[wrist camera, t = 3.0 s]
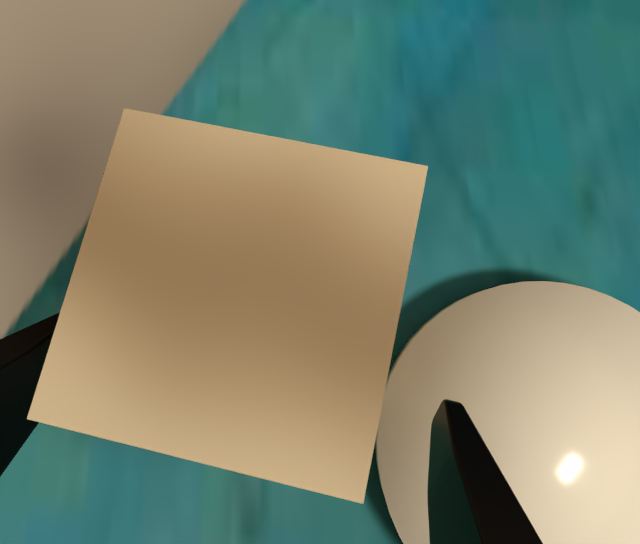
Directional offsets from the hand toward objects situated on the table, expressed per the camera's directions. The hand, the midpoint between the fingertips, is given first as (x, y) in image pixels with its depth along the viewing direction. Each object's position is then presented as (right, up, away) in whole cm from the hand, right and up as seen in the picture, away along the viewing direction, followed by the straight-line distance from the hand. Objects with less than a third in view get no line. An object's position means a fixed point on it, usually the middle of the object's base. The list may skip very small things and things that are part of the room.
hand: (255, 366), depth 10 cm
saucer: (+11, -5, +8) cm, 14 cm away
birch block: (+1, 0, +9) cm, 9 cm away
